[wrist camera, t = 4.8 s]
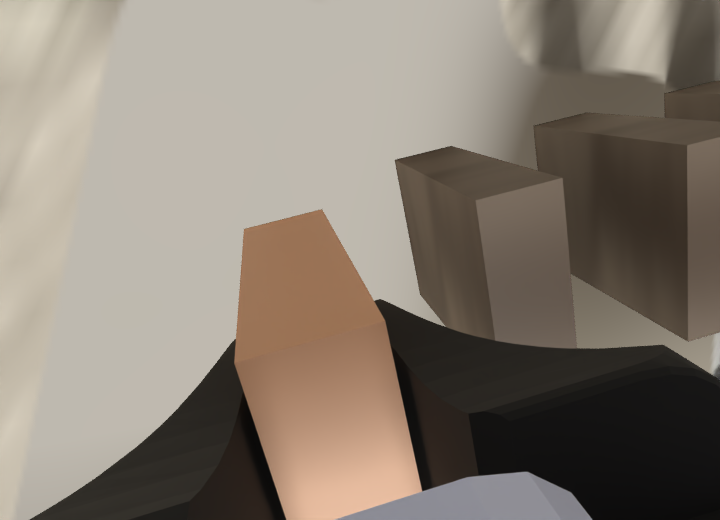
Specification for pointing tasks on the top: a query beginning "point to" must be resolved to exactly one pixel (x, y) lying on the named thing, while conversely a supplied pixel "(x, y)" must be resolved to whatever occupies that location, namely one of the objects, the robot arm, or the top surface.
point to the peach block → (319, 374)
